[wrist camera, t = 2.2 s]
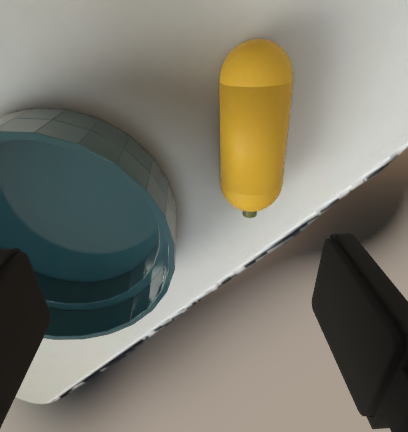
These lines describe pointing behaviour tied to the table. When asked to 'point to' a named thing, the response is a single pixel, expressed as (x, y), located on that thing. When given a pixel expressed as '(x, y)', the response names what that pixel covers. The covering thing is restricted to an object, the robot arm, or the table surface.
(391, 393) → the robot arm
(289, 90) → the squash
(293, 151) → the table surface
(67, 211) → the teal shallow dish
